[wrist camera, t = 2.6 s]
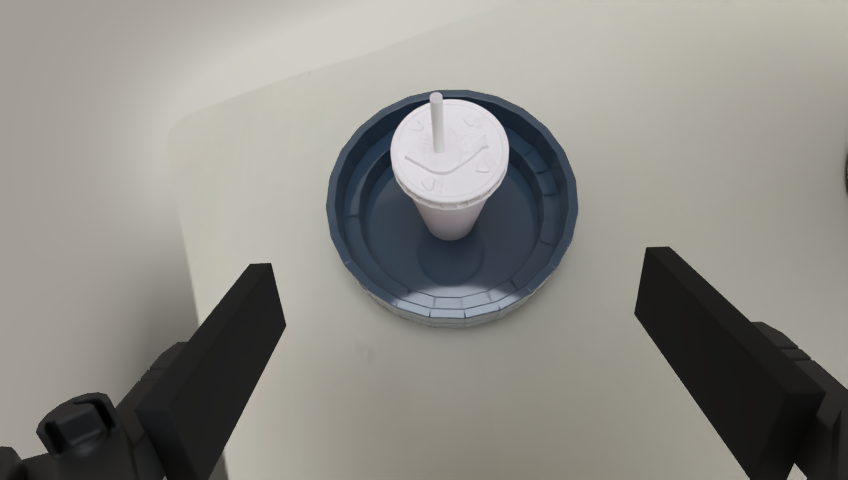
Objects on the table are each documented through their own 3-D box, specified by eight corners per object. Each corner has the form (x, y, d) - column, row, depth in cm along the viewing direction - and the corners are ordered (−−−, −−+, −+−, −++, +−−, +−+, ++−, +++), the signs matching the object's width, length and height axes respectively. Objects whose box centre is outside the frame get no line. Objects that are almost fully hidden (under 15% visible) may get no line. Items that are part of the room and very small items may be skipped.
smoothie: (400, 187, 33) (365, 51, 20) (482, 170, 33) (502, 24, 20) (415, 266, 31) (388, 173, 18) (503, 248, 31) (541, 143, 18)
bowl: (607, 221, 32) (631, 194, 27) (446, 379, 29) (445, 378, 24) (453, 91, 36) (453, 51, 32) (300, 217, 33) (278, 191, 29)
